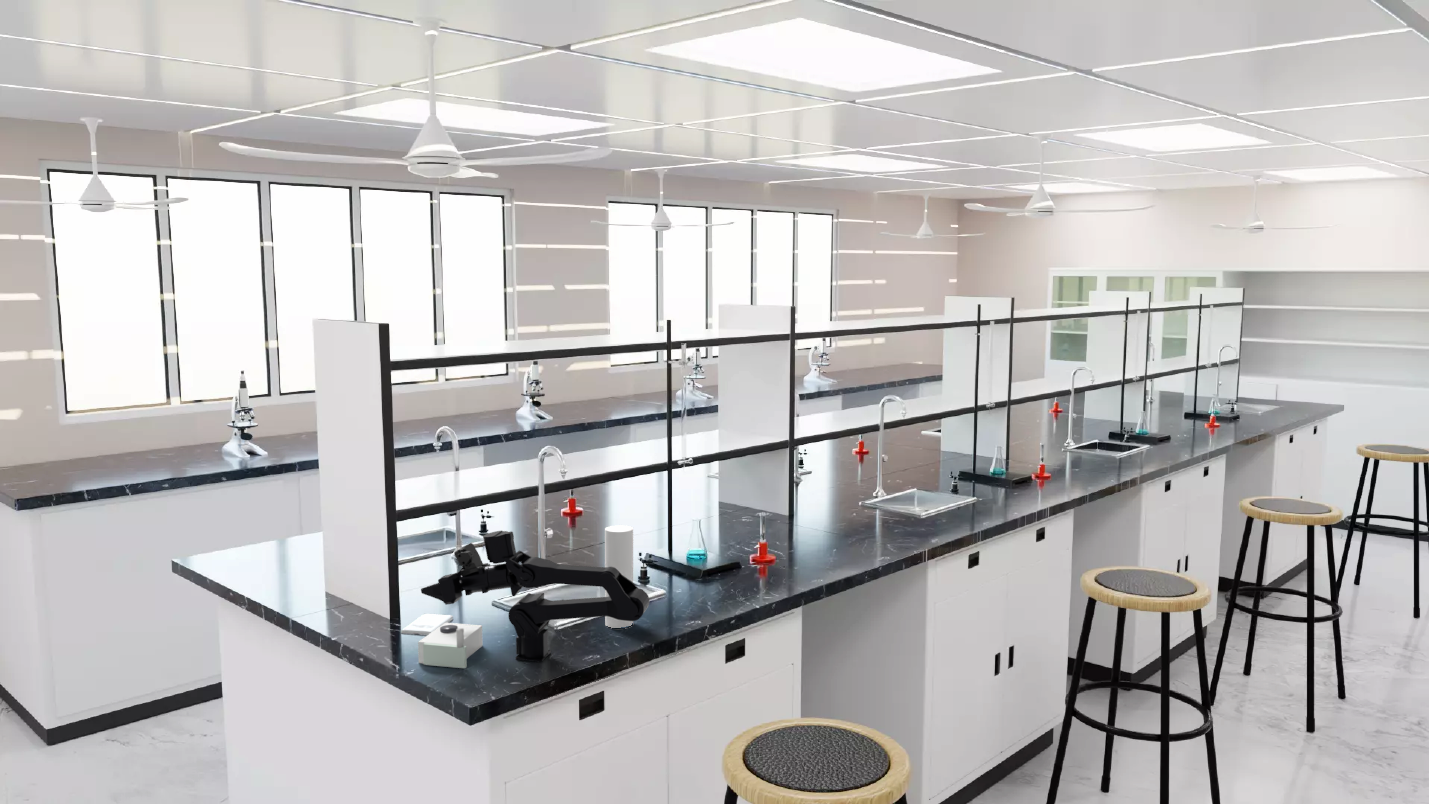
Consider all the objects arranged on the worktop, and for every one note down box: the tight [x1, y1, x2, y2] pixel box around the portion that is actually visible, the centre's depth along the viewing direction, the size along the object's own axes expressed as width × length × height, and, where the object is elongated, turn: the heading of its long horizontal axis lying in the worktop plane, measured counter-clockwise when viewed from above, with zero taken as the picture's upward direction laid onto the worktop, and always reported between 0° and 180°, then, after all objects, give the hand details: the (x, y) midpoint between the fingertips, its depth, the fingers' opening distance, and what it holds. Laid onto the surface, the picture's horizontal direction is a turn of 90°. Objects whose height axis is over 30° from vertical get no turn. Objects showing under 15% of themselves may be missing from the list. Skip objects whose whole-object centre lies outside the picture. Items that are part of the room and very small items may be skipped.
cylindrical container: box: [604, 524, 634, 629], centre depth 256 cm, size 7×7×25 cm
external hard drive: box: [400, 613, 454, 636], centre depth 255 cm, size 2×8×12 cm
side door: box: [423, 628, 468, 669], centre depth 227 cm, size 10×2×9 cm, turn 79°
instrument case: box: [417, 622, 484, 664], centre depth 235 cm, size 10×14×6 cm
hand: (430, 586), depth 236 cm, fingers open, 9 cm apart
